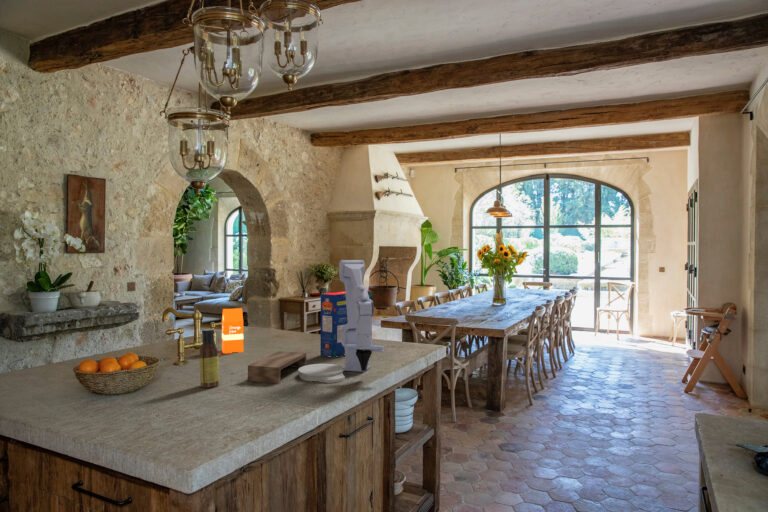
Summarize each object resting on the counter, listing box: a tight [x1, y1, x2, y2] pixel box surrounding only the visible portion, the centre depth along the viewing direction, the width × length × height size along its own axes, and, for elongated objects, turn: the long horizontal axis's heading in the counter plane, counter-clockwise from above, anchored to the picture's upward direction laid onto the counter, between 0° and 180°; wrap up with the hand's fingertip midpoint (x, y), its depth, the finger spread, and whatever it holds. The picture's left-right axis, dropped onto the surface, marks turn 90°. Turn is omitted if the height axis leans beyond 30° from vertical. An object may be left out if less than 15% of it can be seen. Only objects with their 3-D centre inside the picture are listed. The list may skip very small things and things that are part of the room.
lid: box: [297, 363, 346, 384], centre depth 188 cm, size 17×20×3 cm
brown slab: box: [247, 350, 307, 384], centre depth 192 cm, size 12×26×6 cm, turn 167°
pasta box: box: [320, 289, 373, 358], centre depth 234 cm, size 28×8×28 cm, turn 145°
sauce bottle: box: [199, 328, 220, 389], centre depth 175 cm, size 6×6×20 cm
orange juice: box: [221, 307, 244, 354], centre depth 233 cm, size 8×9×20 cm
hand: (363, 370), depth 185 cm, fingers closed
